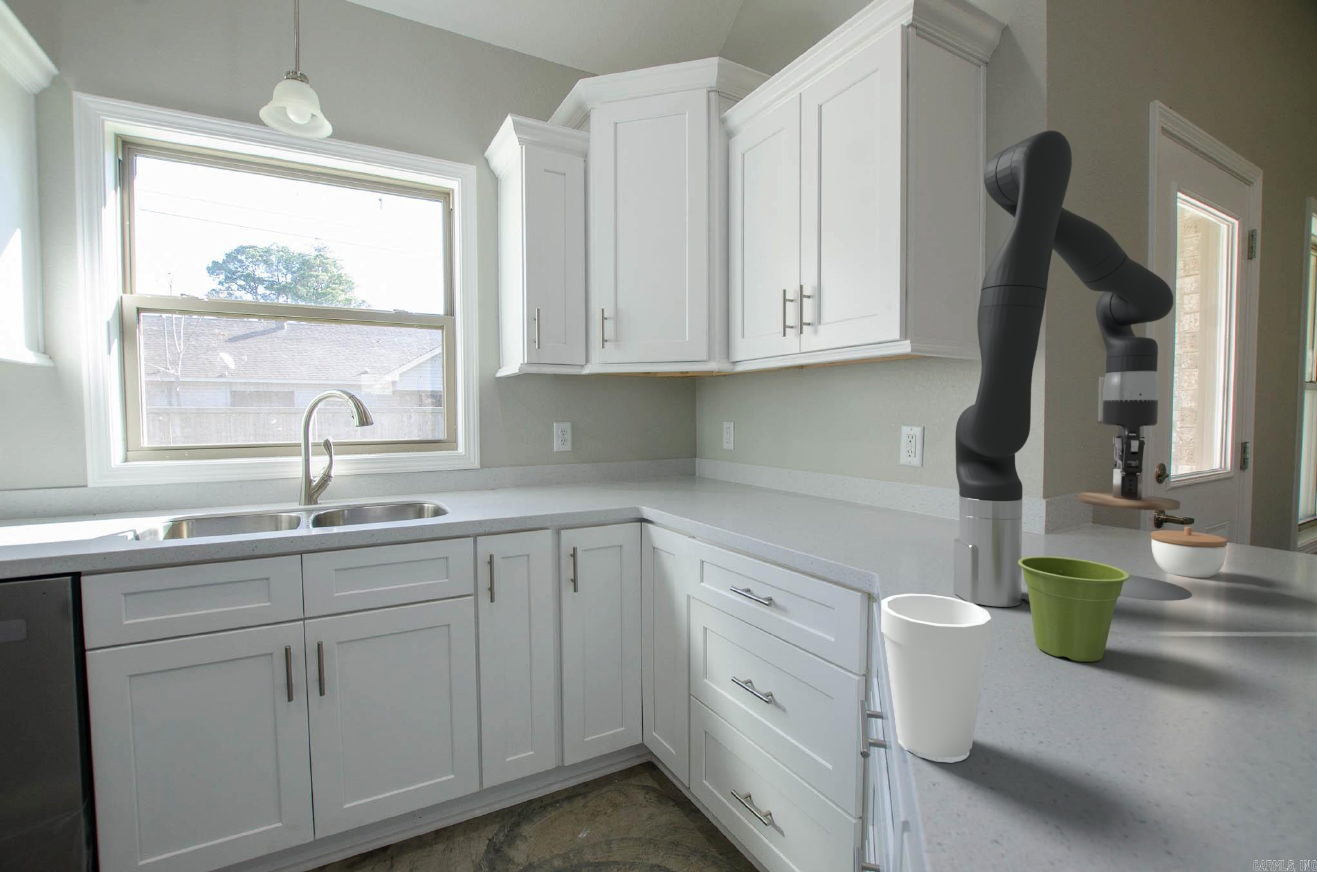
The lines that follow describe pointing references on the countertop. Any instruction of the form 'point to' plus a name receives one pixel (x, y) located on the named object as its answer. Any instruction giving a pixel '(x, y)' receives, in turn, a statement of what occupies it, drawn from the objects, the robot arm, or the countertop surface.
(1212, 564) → the lidded jar
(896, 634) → the foam cup
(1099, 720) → the countertop surface
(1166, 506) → the walnut lid
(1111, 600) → the plant pot
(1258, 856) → the countertop surface
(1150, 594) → the rubber mat
